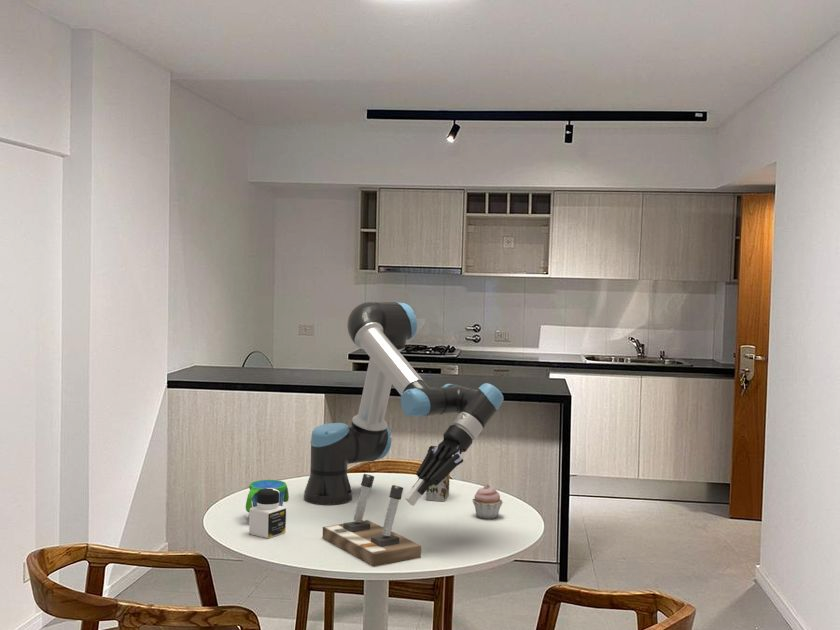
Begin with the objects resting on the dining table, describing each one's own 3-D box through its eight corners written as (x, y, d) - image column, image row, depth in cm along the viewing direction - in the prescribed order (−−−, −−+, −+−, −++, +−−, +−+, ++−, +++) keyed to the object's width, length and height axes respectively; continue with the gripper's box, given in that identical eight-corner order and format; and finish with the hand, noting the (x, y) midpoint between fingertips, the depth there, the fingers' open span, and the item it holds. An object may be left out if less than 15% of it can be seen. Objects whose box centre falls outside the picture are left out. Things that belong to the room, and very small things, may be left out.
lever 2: (377, 532, 217) (389, 484, 218) (387, 534, 218) (399, 486, 220) (384, 535, 214) (396, 486, 215) (393, 537, 216) (405, 488, 217)
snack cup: (258, 528, 236) (258, 491, 236) (233, 520, 243) (234, 485, 242) (299, 517, 248) (300, 482, 248) (275, 510, 255) (276, 476, 254)
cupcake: (464, 515, 255) (465, 482, 255) (485, 510, 262) (486, 478, 261) (488, 522, 248) (489, 488, 248) (508, 517, 255) (510, 484, 255)
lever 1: (349, 519, 228) (361, 473, 229) (359, 520, 230) (370, 475, 231) (355, 522, 226) (367, 475, 227) (364, 523, 227) (376, 477, 229)
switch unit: (322, 538, 229) (323, 521, 228) (367, 530, 237) (367, 514, 236) (373, 566, 207) (374, 548, 207) (420, 557, 215) (421, 539, 215)
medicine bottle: (268, 539, 226) (269, 494, 226) (248, 534, 230) (249, 490, 230) (286, 532, 232) (287, 489, 232) (266, 528, 236) (267, 485, 236)
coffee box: (444, 501, 270) (446, 451, 270) (425, 500, 272) (426, 450, 271) (449, 495, 279) (451, 446, 279) (430, 493, 281) (432, 444, 280)
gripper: (440, 420, 232) (387, 487, 223) (470, 427, 222) (415, 498, 213) (454, 437, 236) (403, 504, 227) (485, 446, 225) (432, 516, 216)
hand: (409, 501), depth 220 cm, fingers closed
